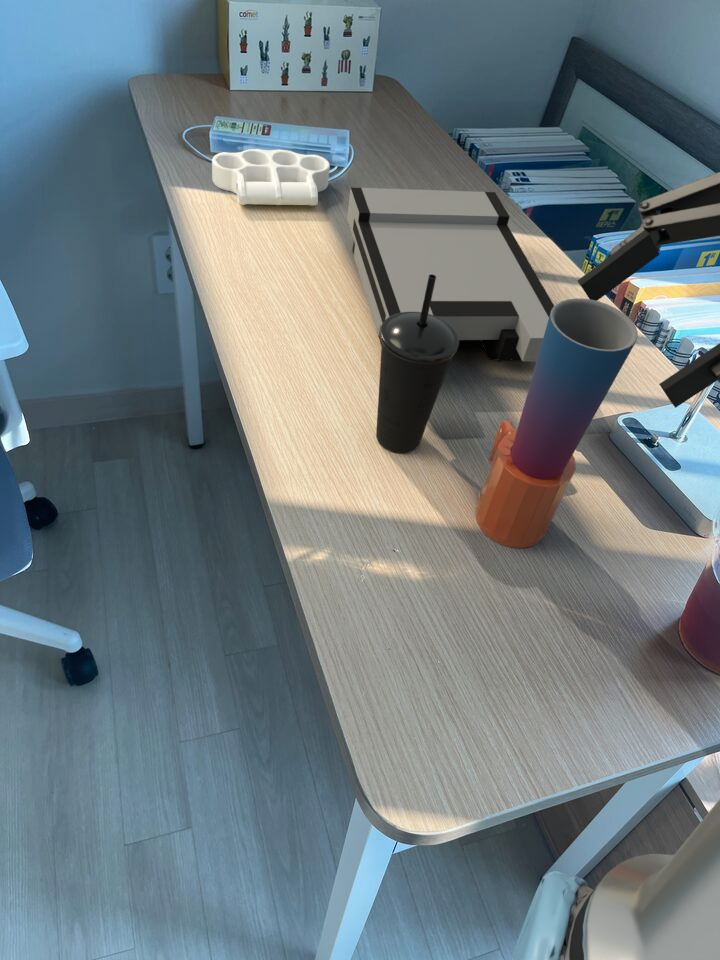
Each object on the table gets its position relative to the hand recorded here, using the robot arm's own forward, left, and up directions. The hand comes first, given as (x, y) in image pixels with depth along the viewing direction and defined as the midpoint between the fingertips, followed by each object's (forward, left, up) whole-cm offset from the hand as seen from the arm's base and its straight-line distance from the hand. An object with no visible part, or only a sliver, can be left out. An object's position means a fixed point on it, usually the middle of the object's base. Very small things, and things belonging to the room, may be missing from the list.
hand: (622, 340), depth 61 cm
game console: (+36, -1, -22) cm, 42 cm away
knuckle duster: (+69, +15, -22) cm, 74 cm away
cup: (0, +4, -13) cm, 14 cm away
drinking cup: (+13, +12, -22) cm, 28 cm away
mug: (+2, +4, -22) cm, 22 cm away
